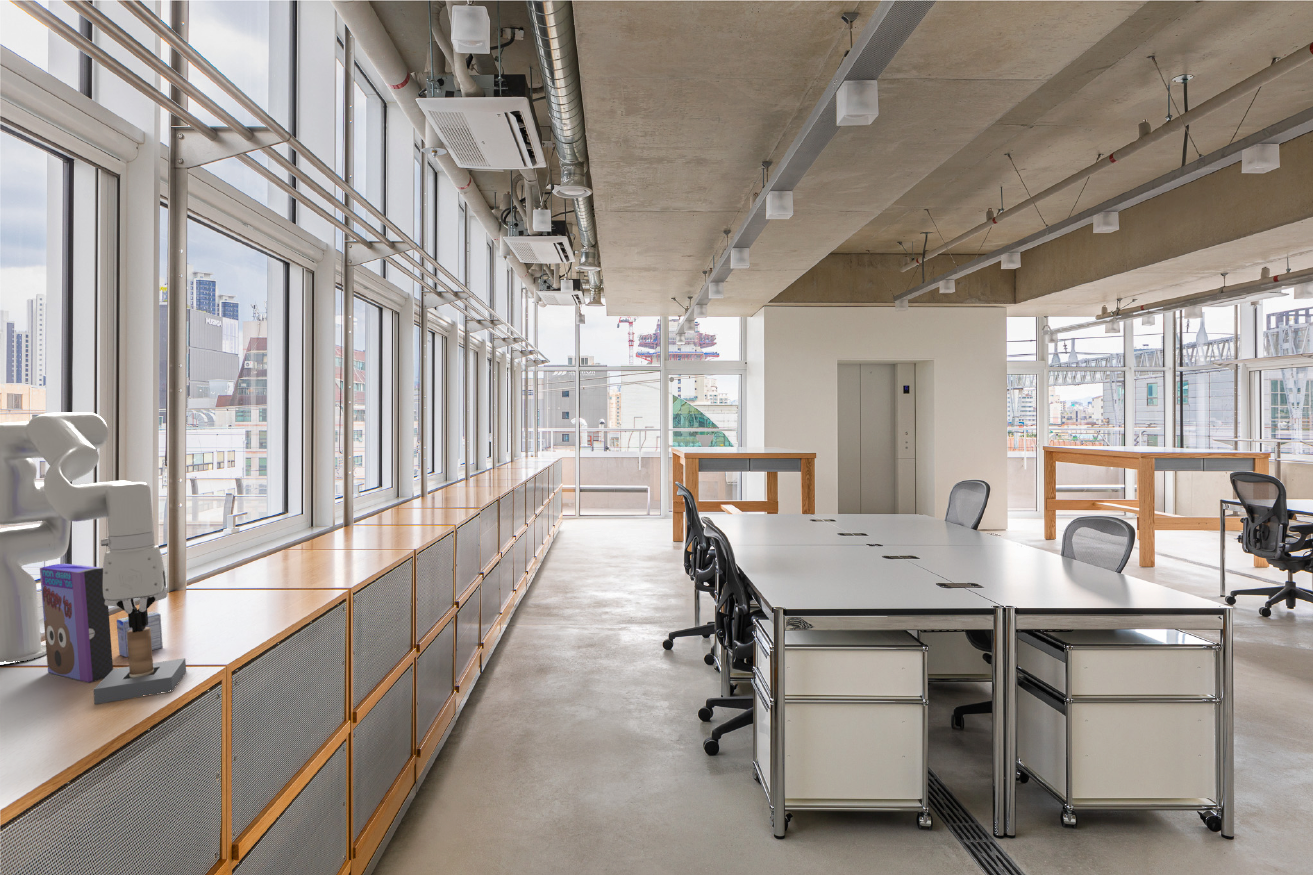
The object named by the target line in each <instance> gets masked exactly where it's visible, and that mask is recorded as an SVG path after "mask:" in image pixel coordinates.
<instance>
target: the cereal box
mask: <svg viewBox="0 0 1313 875" xmlns="http://www.w3.org/2000/svg"><path fill="white" fill-rule="evenodd" d="M39 577H40V589H41V590H40V591H41V600H42V601H41V602H42V612H43V613H42V614H43V624H44V628H43V629H44V639H45V645H46V653H47V654H46V663H47V672H48V674H50V675H54V676H59V677H61V678H62V677H63V678H65V679H71V680H74V681H78V682H82V683H86V684H91V683H94V682H97V681H102V680H103V679H104V678H105V677H106V676H107V675H108V674H109V673H110V672H111V671H112V670H113V669H114V665H113V662H114V661H113V651H112V650H113V649H112V640H111V639H112V638H111V623H110V612H109V610H110V609H109V606H106V605H105V599H104V596H103V567H99V566H89V565H83V564H82V565H81V564H71V563H56V564H49V565H46V566H42V567H39Z"/></svg>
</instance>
